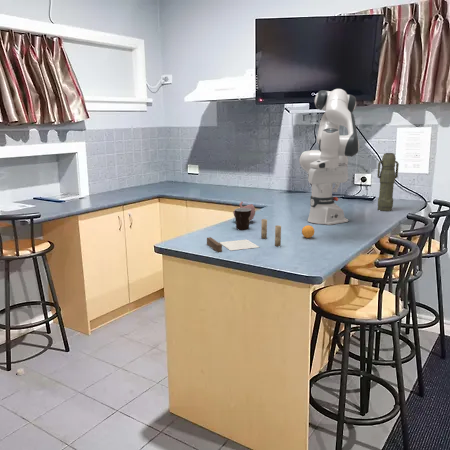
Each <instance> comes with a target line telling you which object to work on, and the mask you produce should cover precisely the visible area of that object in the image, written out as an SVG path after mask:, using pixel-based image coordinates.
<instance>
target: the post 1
mask: <svg viewBox="0 0 450 450" xmlns="http://www.w3.org/2000/svg"><path fill="white" fill-rule="evenodd" d="M260 226H261V228H260V229H261V231H260V233H261V236H260V237H261V239H262V240H265V239H268V238H267V236H268V235H267V234H268V219H267V218H266V219H265V218H263V219H261V225H260Z"/></svg>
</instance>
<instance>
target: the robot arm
mask: <svg viewBox="0 0 450 450" xmlns="http://www.w3.org/2000/svg"><path fill="white" fill-rule="evenodd" d="M314 106H315V109H317V110H319V111H325V112H324V113H323V114H322V116H321V119H320V122H319V126H318V131H317V137H316V142H317V143H318V149H312V150H311V149H309V150H305V151H303V152H302V153H301V155H300V156H299V159H298V161H299V165H300V166H301V168H302V169H303V170H304V171H305V172H306V174H307V175H308V177H307V181H308V183H309V184H311V195H310V202H309V203H310V204H309V205H310V209H309V214H308V218H307V222H308V223H312V224H319V225H326V226H327V225H328V226H333V225H339V224H343V223H348V222H349V219H348V218H346V217H345V213H344V212H345V211H344V210H343V208H341V207H340V206H339V205H337V204H336V203H335V202H338V201H339V198H338V197H336V196H333V193H338V189H339V187H340V185H341V183H344V184H345V183H347V182H348V180H349V179H348V178H349V173H348V171H349V170H348V164H349V158H348V157H355V156H356V154H358V153H359V150H360V141H359V139H358V132H357V125H356V120H355V116H354V113H353V112H354V110H355V109H356V107H357V98H356V97H355V96H354V95H353V94H348V93H347V91H346V90H344V89H342V88H335V89H333V90H331V91H329V90H326V89H325V90H323V89H322V90H319V91H318V92H317V94H316V95H315V97H314ZM340 126H342V127H345V128H346V129H347V135H346V134H345V135H341V134H340ZM333 184H334V185H335V186H334V188H333Z"/></svg>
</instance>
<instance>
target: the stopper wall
mask: <svg viewBox="0 0 450 450" xmlns="http://www.w3.org/2000/svg"><path fill="white" fill-rule="evenodd" d="M206 245H208V246H209V247H210V248H211V249H212V250H214V251H215V252H217V253H222V252H223V245H222V244H220V243H219V242H218V241H217V240H215V239H214V238H213V237H211V236H208V237H206Z"/></svg>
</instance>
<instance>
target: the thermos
mask: <svg viewBox="0 0 450 450" xmlns="http://www.w3.org/2000/svg"><path fill="white" fill-rule="evenodd" d="M395 155H396V154H395V153H393V152H384V154H383V155H382V158H381V160H379V162H378V165H377V173H376V174H377V179H379V183H380V184H379V194H378V198H377V211H379V210H380V212H392V211H393V207H394V197H393V195H394V186H395V185H394V184H395V182H396V179H397V178H398V175H399V165H400V164H399V162H398V161H397V160H396V156H395Z"/></svg>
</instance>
